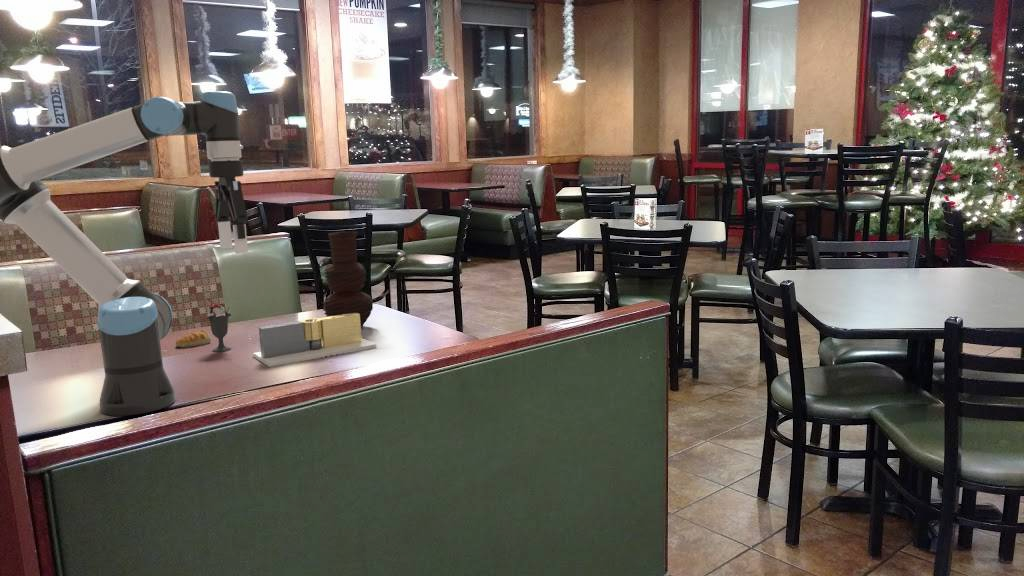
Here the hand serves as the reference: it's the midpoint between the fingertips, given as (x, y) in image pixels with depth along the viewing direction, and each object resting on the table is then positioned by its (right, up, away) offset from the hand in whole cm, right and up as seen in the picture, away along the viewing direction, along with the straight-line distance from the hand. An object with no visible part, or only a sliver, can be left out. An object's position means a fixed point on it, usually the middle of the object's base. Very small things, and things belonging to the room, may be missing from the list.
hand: (233, 250), depth 188 cm
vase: (+15, -22, +59) cm, 64 cm away
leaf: (+16, -25, +33) cm, 44 cm away
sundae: (-16, -27, +37) cm, 48 cm away
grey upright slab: (+7, -26, +27) cm, 38 cm away
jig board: (+12, -27, +30) cm, 42 cm away
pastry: (-28, -26, +46) cm, 59 cm away
